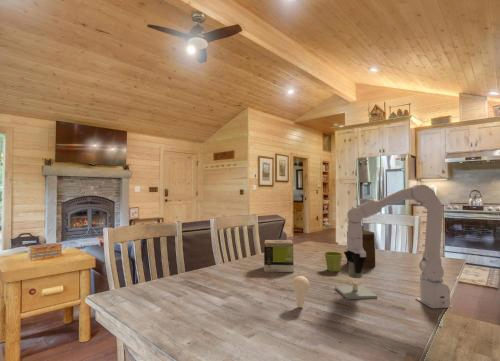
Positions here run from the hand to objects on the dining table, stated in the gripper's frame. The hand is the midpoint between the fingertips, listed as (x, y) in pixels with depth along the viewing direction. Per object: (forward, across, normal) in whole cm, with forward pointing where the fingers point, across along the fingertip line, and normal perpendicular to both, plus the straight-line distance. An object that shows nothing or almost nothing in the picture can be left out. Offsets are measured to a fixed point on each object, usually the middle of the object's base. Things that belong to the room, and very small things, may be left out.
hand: (355, 271), depth 119 cm
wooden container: (+9, -43, +24) cm, 50 cm away
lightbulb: (+9, +12, -26) cm, 30 cm away
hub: (+2, 0, 0) cm, 2 cm away
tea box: (+9, -37, -24) cm, 45 cm away
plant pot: (+9, -33, +4) cm, 34 cm away
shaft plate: (+9, 0, 0) cm, 9 cm away
